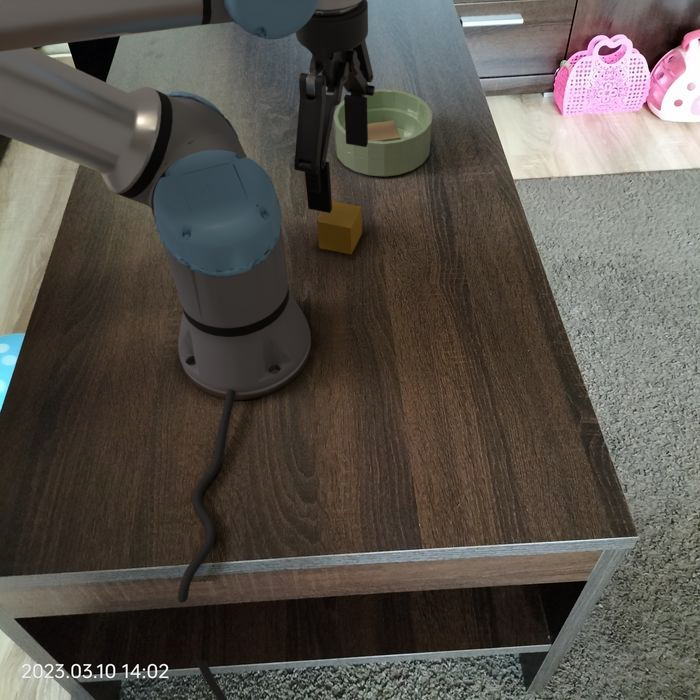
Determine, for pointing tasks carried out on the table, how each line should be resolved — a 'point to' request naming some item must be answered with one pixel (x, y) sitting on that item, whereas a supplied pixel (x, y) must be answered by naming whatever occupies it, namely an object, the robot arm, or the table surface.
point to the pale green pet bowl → (388, 155)
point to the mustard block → (340, 228)
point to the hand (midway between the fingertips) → (339, 175)
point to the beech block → (383, 131)
